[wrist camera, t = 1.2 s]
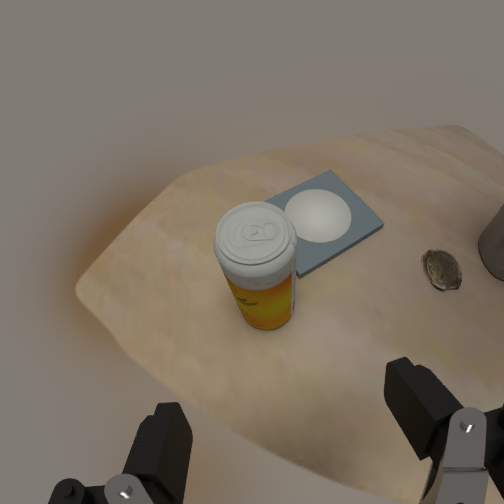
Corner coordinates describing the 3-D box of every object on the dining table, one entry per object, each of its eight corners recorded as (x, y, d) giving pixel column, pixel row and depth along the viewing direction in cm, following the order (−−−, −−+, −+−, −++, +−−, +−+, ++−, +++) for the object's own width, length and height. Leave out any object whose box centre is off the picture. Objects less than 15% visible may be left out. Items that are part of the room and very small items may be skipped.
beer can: (241, 284, 34) (212, 201, 22) (292, 280, 34) (292, 194, 21) (241, 332, 31) (207, 272, 18) (296, 329, 31) (302, 265, 18)
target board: (329, 174, 42) (330, 168, 41) (382, 227, 36) (384, 222, 35) (251, 212, 40) (250, 207, 39) (299, 278, 34) (299, 274, 33)
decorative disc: (452, 249, 33) (455, 245, 32) (464, 289, 30) (467, 286, 29) (415, 251, 34) (418, 247, 33) (427, 294, 31) (430, 291, 30)
